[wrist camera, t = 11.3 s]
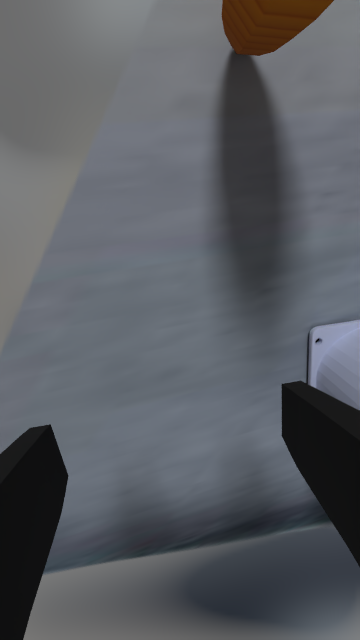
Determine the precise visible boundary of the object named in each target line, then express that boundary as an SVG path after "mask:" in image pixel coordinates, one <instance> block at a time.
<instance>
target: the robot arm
mask: <svg viewBox="0 0 360 640" xmlns="http://www.w3.org/2000/svg"><path fill="white" fill-rule="evenodd" d="M318 338H319V341H318V342H316V343H315V341H316V340H317V339H318ZM282 437H283V439H284V441H285V443H286V445H287V448H288V450H289V452H290V454H291V456H292V458H293V460H294V462H295V464H296V466H297V468H298V469H299V471H300V473H301V474H302V476H303V477H304V479H305V480H306V482H307V484H308V485H309V487H310V488H311V490H312V492H313V493H314V495H315V496H316V498H317V499H318V501H319V503H320V504H321V506H322V507H323V509H324V510H325V512H326V513H327V515H328V517H329V518H330V520H331V521H332V523H333V524H334V526H335V527H336V529H337V530H338V532H339V534H340V535H341V537H342V538H343V540H344V541H345V543H346V545H347V546H348V548H349V549H350V551H351V553H352V554H353V556H354V558H355V560H356V561H357V563H358V565H359V566H360V320H355V321H348V322H342V323H336V324H330V325H323V326H317V327H314V328H313V329H312V330H311V331H310V334H309V367H308V384H306V383H304V382H302V381H297V382H291V383H285V384H282ZM67 480H68V473H67V470H66V468H65V465H64V462H63V459H62V456H61V453H60V450H59V447H58V444H57V442H56V439H55V436H54V433H53V430H52V427H51V424H50V425H45V426H39V427H33V428H30V429H28V430H27V431H26V432H25V433H23V434H22V435H21V436H20V437H19V438H18V439H17V440H15V441H14V442H13V443H12V444H11V445H10V446H9V447H8V448H7V449H6V450H4V451H3V452H2V453H1V454H0V640H23V638H24V634H25V631H26V627H27V624H28V620H29V616H30V612H31V610H32V606H33V603H34V600H35V597H36V594H37V590H38V587H39V584H40V581H41V577H42V574H43V571H44V568H45V565H46V562H47V558H48V555H49V552H50V549H51V546H52V542H53V539H54V536H55V532H56V529H57V526H58V523H59V519H60V516H61V512H62V507H63V502H64V497H65V492H66V486H67Z"/></svg>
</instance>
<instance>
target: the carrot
mask: <svg viewBox="0 0 360 640" xmlns="http://www.w3.org/2000/svg"><path fill="white" fill-rule="evenodd" d="M333 1H334V0H223V4H222V20H223V26H224V31H225V34H226V36H227V38H228V40H229V42H230V44H231V46H232V48H233V49H234V51H235V52H236V54H244V55H257V56H260V55H263V54H267V53H271V52H274V51H275V50H277V49H278V48H280V47H281V46H283V45H284V44H285V43H287V42H288V41H290V40H291V39H293V38H294V37H295V36H296V35H297V34H299V33H300V32H301V31H302V30H304V29H305V28H306V27H307V26H309V25H310V24H311V23H312V22H313V21H315V20H316V19H317V18H318V17H319V16H320V15H321V13H322V12H323V11H324V10H325V9H326V8H327V7H328V6H329V5H330V4H331V3H332V2H333Z"/></svg>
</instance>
